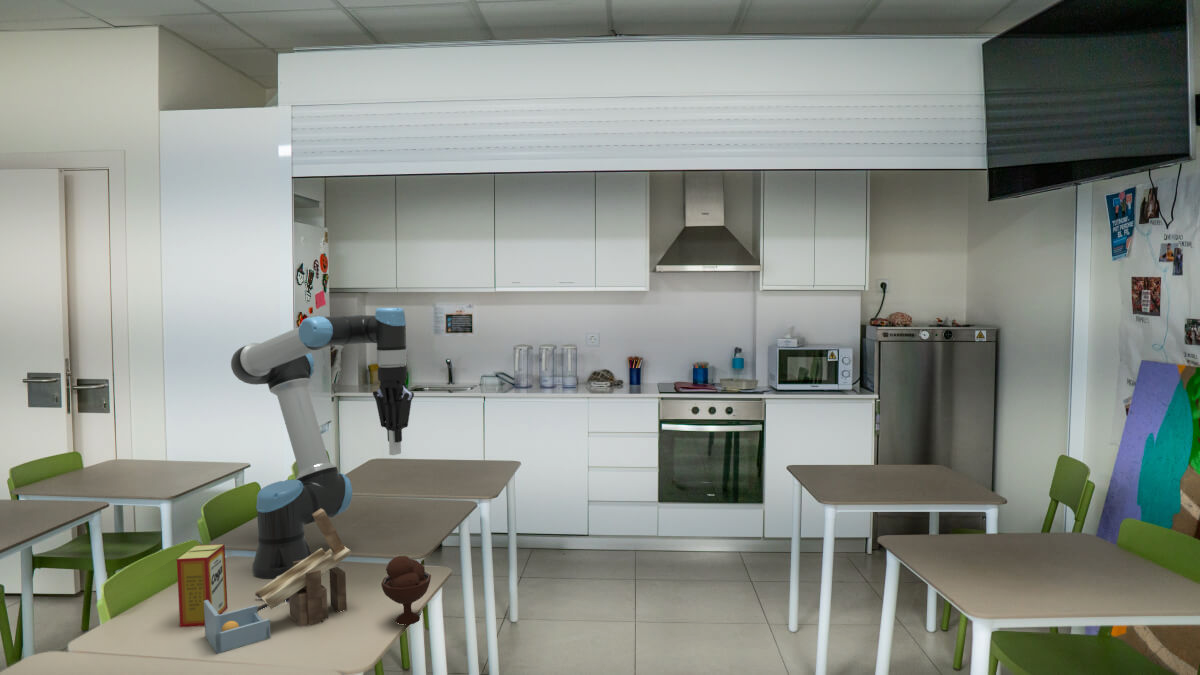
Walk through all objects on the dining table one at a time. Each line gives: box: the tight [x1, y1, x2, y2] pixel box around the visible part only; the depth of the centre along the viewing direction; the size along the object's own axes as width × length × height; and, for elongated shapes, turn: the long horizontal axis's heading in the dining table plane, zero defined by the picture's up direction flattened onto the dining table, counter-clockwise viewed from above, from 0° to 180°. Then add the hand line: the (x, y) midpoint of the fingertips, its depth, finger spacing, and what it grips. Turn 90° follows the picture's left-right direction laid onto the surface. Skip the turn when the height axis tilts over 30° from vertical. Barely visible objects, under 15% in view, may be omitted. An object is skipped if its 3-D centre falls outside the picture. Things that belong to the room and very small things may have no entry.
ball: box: [221, 621, 239, 632], centre depth 157 cm, size 4×4×4 cm
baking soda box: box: [176, 543, 228, 628], centre depth 168 cm, size 10×6×16 cm
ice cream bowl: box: [380, 555, 432, 626], centre depth 165 cm, size 11×11×15 cm
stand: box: [288, 559, 348, 627], centre depth 169 cm, size 11×10×12 cm
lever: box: [256, 509, 352, 610], centre depth 166 cm, size 20×7×12 cm, turn 130°
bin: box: [204, 600, 271, 654], centre depth 158 cm, size 11×11×8 cm
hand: (395, 454), depth 192 cm, fingers closed
